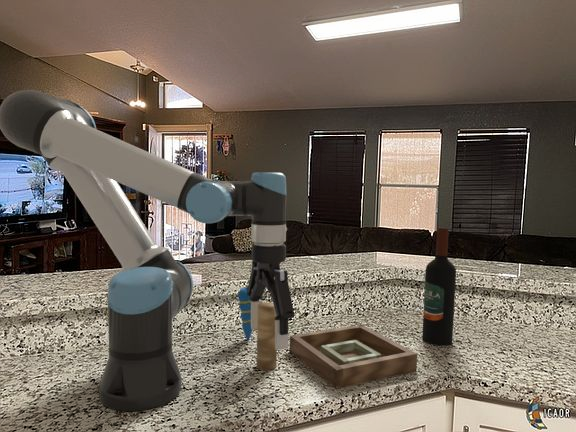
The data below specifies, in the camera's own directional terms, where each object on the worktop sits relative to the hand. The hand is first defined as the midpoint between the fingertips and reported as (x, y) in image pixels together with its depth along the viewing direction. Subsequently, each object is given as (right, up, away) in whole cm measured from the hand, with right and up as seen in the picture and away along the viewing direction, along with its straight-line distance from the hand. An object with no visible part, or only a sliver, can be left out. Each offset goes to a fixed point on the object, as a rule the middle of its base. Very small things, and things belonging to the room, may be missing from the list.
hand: (268, 338), depth 99 cm
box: (+19, -7, +5) cm, 20 cm away
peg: (0, -7, +1) cm, 7 cm away
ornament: (-6, -5, +17) cm, 19 cm away
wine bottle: (+44, -6, +19) cm, 48 cm away
